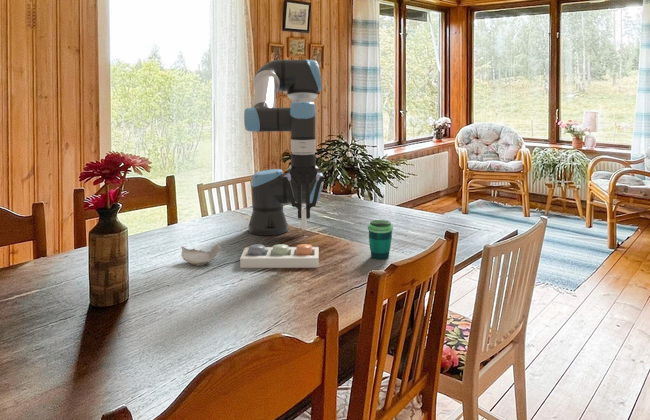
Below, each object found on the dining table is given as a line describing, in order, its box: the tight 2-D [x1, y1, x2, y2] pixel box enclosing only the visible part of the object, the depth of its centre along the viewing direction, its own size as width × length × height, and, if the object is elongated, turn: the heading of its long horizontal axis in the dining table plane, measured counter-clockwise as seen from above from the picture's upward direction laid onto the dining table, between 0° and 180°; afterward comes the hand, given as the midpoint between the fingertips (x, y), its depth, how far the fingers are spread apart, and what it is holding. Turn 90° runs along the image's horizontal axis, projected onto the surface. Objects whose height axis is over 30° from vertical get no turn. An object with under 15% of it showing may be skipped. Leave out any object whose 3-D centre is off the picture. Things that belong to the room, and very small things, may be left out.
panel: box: [239, 246, 320, 269], centre depth 175 cm, size 24×12×3 cm, turn 90°
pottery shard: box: [180, 244, 221, 267], centre depth 174 cm, size 10×11×5 cm
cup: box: [367, 219, 394, 261], centre depth 177 cm, size 8×8×12 cm
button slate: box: [248, 243, 266, 256], centre depth 174 cm, size 5×5×3 cm
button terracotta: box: [295, 243, 313, 256], centre depth 174 cm, size 5×5×3 cm
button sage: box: [272, 243, 289, 256], centre depth 174 cm, size 5×5×3 cm
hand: (304, 228), depth 172 cm, fingers closed
